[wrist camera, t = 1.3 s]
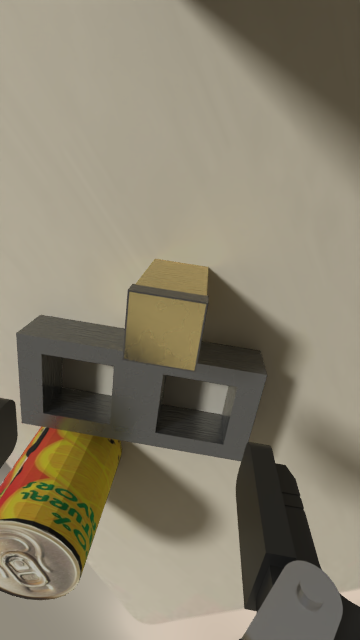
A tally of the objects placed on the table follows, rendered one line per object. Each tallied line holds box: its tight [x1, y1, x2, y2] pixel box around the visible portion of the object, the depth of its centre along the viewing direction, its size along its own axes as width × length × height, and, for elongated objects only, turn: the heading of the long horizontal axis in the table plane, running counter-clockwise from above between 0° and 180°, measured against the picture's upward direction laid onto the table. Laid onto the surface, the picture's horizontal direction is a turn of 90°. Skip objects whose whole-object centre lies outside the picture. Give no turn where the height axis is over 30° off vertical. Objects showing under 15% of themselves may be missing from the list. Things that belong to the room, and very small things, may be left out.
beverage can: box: [0, 427, 122, 600], centre depth 30 cm, size 9×9×12 cm
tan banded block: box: [122, 259, 209, 372], centre depth 24 cm, size 5×5×9 cm
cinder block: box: [16, 315, 267, 461], centre depth 29 cm, size 9×20×4 cm, turn 82°
